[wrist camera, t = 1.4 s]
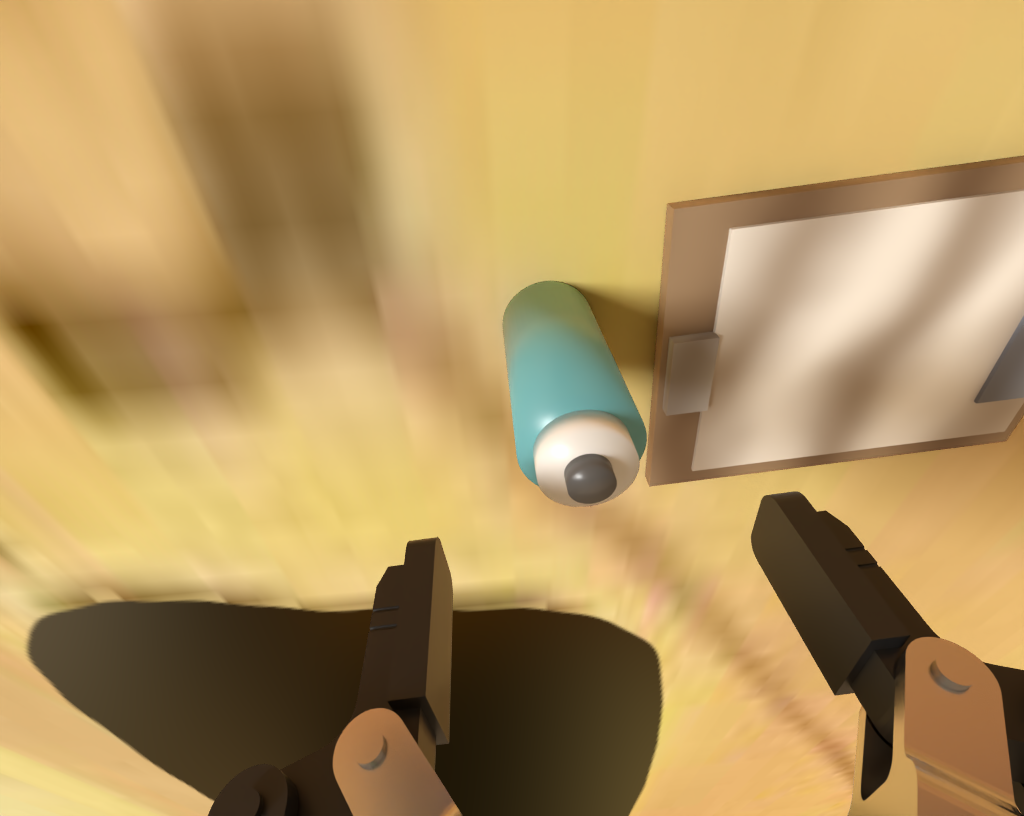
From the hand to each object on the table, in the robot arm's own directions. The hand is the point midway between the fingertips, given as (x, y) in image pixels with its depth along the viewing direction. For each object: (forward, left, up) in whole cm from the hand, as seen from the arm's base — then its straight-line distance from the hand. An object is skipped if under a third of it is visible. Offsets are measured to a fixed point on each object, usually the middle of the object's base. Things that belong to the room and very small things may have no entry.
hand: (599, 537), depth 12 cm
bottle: (0, 0, -12) cm, 12 cm away
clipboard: (-15, +3, -12) cm, 19 cm away
